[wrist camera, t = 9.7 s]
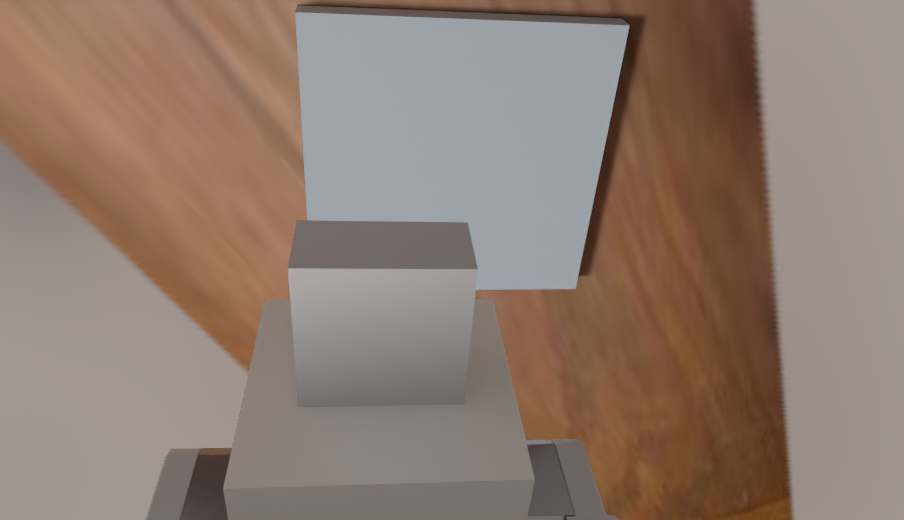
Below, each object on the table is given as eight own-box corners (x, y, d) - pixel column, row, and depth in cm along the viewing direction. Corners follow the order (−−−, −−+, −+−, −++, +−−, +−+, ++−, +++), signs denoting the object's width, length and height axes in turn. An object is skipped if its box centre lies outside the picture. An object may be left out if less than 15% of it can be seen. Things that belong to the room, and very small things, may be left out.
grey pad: (297, 5, 27) (295, 12, 26) (622, 18, 28) (629, 25, 28) (312, 278, 34) (311, 290, 33) (570, 277, 36) (575, 288, 35)
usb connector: (252, 174, 11) (197, 341, 7) (507, 178, 11) (562, 338, 8) (289, 546, 16) (266, 744, 13) (463, 540, 16) (485, 728, 13)
